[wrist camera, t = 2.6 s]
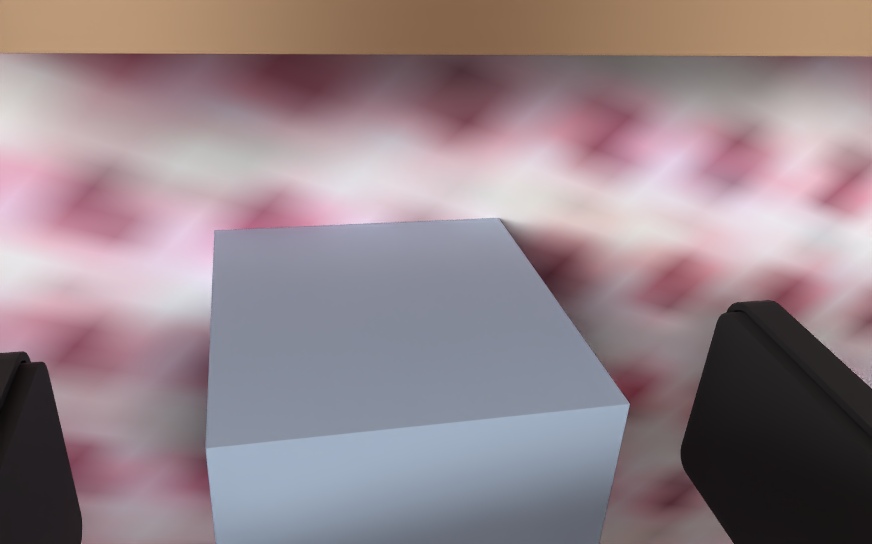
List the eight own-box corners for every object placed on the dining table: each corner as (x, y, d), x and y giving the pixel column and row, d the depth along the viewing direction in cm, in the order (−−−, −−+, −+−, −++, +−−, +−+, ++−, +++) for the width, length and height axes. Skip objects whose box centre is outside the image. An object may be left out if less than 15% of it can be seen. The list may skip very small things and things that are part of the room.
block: (474, 429, 15) (572, 664, 11) (234, 455, 14) (235, 726, 10) (497, 216, 13) (630, 404, 9) (214, 228, 12) (204, 447, 8)
